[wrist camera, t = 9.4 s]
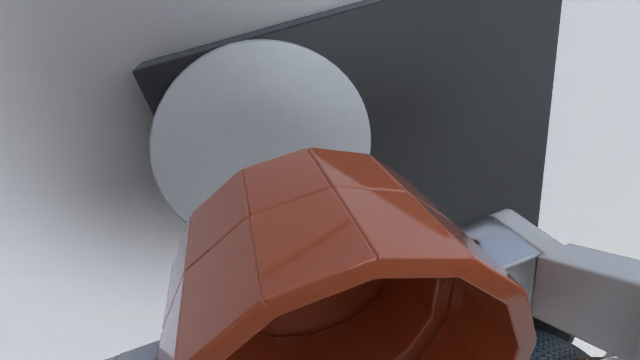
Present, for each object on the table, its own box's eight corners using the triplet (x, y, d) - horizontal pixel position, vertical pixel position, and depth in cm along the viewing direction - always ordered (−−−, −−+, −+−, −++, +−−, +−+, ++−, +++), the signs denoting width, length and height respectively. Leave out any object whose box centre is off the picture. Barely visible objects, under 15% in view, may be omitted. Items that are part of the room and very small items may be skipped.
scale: (118, 69, 15) (99, 81, 13) (531, -47, 18) (582, -55, 16) (266, 361, 26) (272, 399, 24) (511, 263, 29) (539, 288, 26)
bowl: (122, 196, 8) (33, 385, 4) (405, 105, 9) (558, 187, 5) (228, 370, 11) (236, 564, 7) (426, 292, 12) (525, 430, 8)
